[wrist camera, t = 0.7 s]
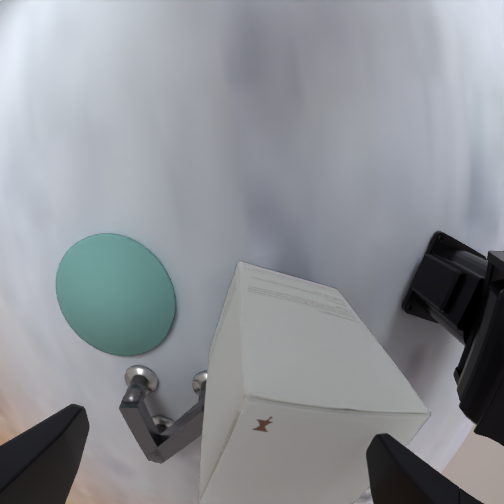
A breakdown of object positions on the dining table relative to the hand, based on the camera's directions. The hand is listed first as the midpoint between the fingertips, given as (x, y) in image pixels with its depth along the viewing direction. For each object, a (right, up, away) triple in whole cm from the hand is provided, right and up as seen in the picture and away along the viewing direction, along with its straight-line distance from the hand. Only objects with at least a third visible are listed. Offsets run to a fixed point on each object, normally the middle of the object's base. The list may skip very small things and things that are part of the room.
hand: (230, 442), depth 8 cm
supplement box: (+2, +1, +14) cm, 14 cm away
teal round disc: (-9, +2, +12) cm, 15 cm away
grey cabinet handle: (-6, -7, +15) cm, 17 cm away
